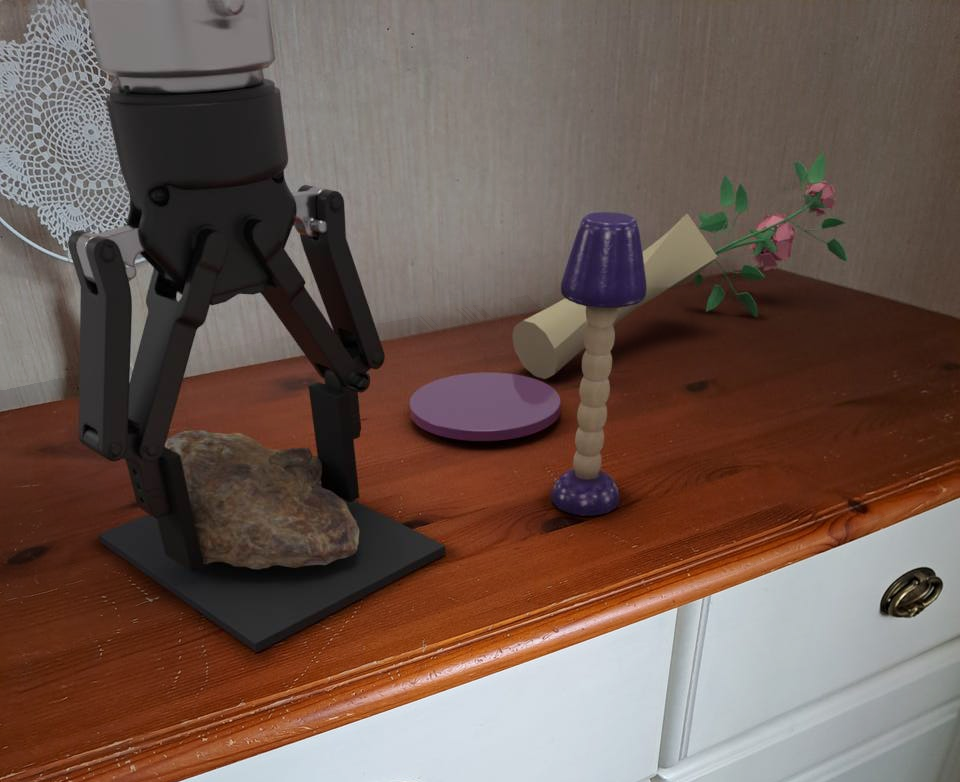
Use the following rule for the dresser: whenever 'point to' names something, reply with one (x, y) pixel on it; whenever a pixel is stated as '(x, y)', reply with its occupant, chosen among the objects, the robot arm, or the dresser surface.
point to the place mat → (279, 577)
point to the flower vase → (679, 270)
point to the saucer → (485, 406)
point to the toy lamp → (598, 346)
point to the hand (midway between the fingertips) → (266, 525)
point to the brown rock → (261, 503)
